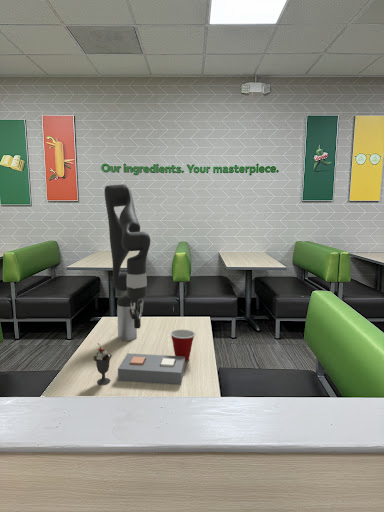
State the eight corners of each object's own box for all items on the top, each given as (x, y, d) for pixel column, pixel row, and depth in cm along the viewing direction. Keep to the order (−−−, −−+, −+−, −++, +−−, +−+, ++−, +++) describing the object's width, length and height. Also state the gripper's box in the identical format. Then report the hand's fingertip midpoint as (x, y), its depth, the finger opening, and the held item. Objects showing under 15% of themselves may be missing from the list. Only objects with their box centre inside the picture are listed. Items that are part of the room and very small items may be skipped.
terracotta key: (133, 365, 136) (133, 356, 135) (145, 366, 135) (145, 357, 135) (130, 371, 131) (130, 362, 130) (142, 372, 131) (142, 363, 130)
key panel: (127, 364, 140) (127, 353, 140) (185, 367, 138) (185, 356, 137) (118, 381, 128) (117, 368, 127) (180, 385, 125) (181, 372, 125)
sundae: (96, 377, 130) (94, 340, 128) (113, 376, 131) (112, 340, 128) (92, 386, 124) (91, 348, 121) (111, 386, 124) (110, 348, 122)
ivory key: (163, 367, 135) (163, 358, 134) (174, 368, 134) (174, 358, 134) (160, 373, 130) (160, 364, 129) (173, 374, 130) (173, 364, 129)
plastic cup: (198, 355, 150) (198, 329, 148) (190, 366, 139) (190, 339, 137) (175, 351, 153) (175, 326, 151) (166, 362, 143) (166, 335, 141)
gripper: (131, 279, 134) (132, 321, 137) (121, 288, 121) (123, 334, 124) (150, 280, 134) (150, 321, 137) (142, 289, 121) (142, 335, 124)
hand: (137, 327), depth 131 cm, fingers closed
